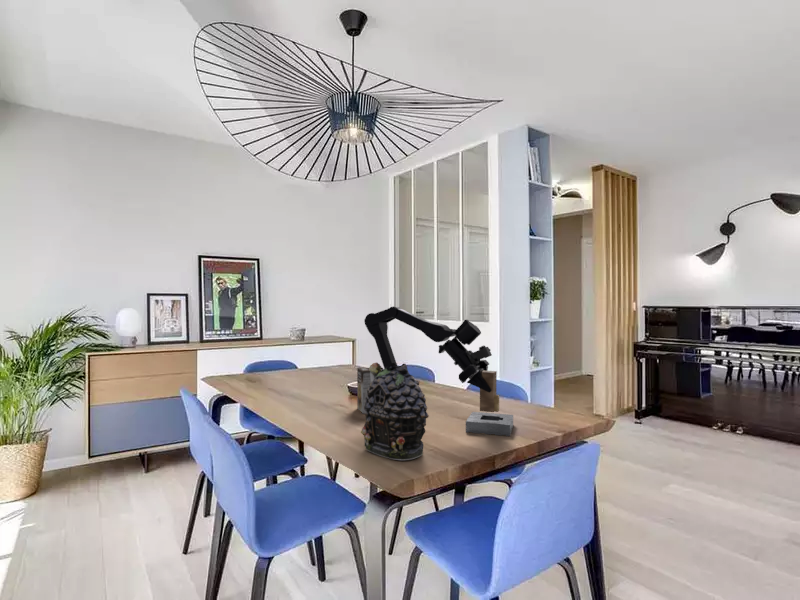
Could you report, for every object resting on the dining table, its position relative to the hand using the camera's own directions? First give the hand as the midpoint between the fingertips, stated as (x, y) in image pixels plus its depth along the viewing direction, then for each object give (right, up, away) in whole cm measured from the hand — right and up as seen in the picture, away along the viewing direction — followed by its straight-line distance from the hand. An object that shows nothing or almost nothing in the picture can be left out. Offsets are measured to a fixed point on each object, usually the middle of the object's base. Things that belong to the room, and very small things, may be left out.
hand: (492, 390), depth 145 cm
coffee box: (-43, -14, +29) cm, 53 cm away
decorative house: (-32, -13, -21) cm, 40 cm away
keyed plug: (-1, -7, 0) cm, 7 cm away
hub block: (0, -14, +4) cm, 14 cm away
